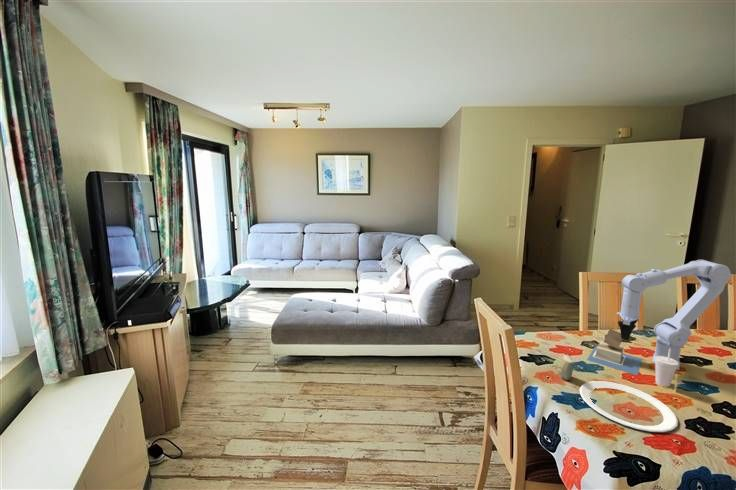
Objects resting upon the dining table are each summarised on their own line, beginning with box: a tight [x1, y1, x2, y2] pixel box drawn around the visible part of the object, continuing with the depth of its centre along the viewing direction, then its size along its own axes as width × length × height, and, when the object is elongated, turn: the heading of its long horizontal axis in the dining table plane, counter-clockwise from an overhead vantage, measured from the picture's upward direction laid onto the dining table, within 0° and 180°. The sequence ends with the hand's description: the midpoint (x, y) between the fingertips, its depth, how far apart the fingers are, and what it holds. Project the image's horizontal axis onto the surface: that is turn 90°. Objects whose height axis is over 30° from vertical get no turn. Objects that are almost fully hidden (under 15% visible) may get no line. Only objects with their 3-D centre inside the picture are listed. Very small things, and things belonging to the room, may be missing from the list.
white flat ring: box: [579, 380, 679, 433], centre depth 103 cm, size 25×25×1 cm
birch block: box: [596, 341, 625, 364], centre depth 132 cm, size 8×8×4 cm
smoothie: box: [653, 349, 680, 388], centre depth 113 cm, size 6×6×14 cm
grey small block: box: [557, 354, 575, 382], centre depth 118 cm, size 6×5×8 cm
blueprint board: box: [586, 345, 643, 376], centre depth 130 cm, size 17×16×1 cm
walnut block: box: [603, 328, 624, 349], centre depth 131 cm, size 5×5×6 cm
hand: (626, 336), depth 130 cm, fingers open, 7 cm apart
